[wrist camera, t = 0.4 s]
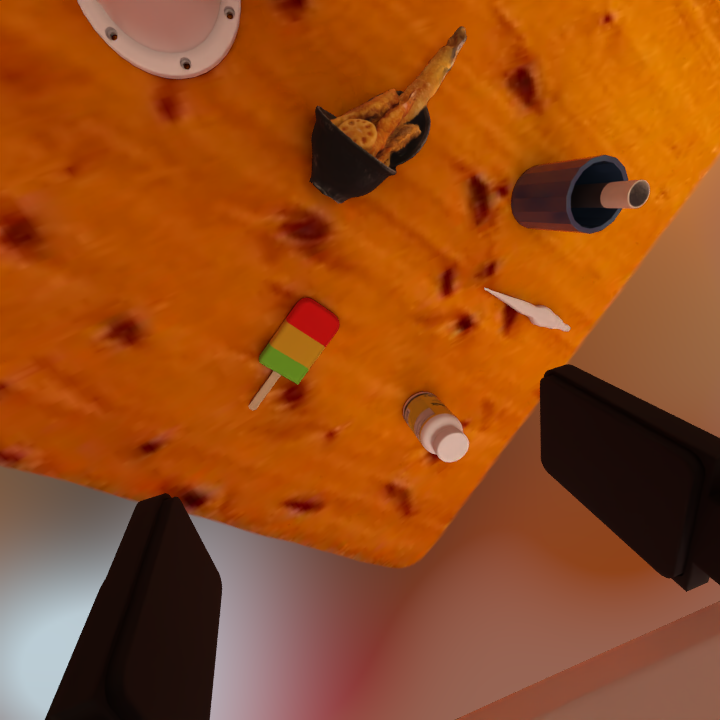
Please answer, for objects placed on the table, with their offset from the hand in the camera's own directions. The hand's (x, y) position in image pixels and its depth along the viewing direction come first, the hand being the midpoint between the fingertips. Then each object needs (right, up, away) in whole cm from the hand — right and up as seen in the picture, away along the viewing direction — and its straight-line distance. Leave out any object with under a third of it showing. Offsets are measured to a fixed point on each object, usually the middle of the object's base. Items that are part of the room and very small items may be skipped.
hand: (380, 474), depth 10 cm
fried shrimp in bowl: (+1, +27, +29) cm, 40 cm away
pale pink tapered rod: (+21, +10, +41) cm, 48 cm away
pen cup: (+21, +22, +36) cm, 47 cm away
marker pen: (+21, +22, +36) cm, 47 cm away
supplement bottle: (+8, -4, +43) cm, 44 cm away
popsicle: (-9, +3, +36) cm, 37 cm away
